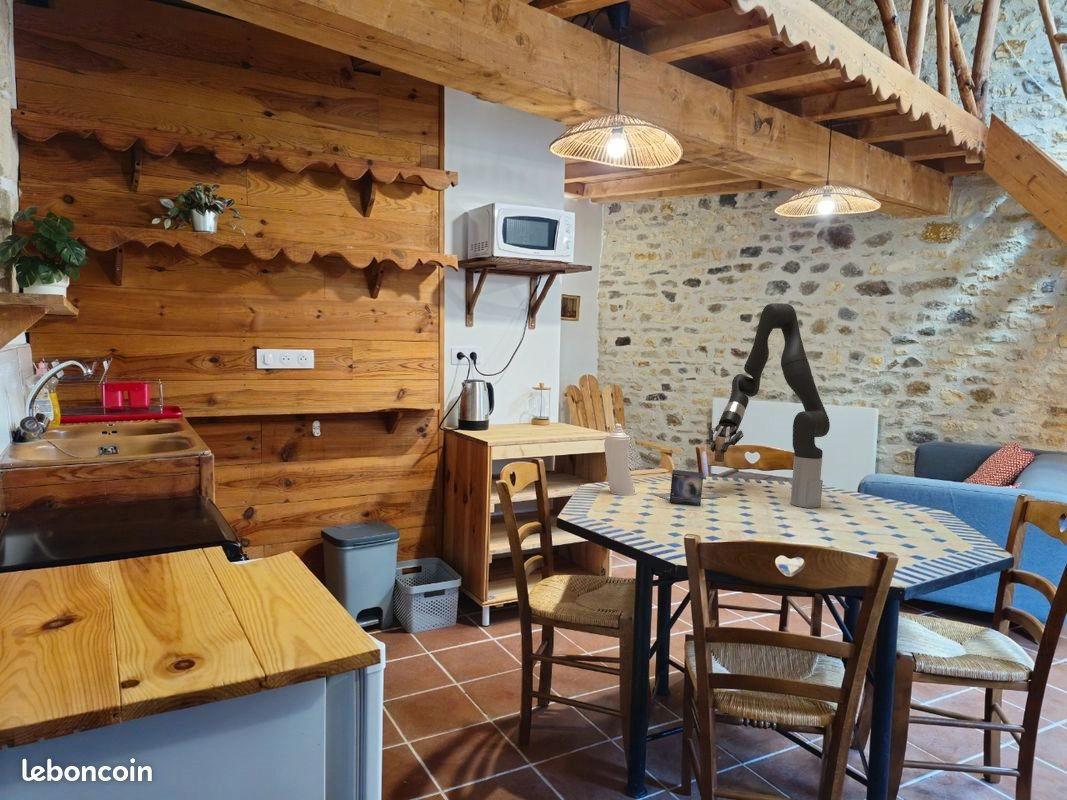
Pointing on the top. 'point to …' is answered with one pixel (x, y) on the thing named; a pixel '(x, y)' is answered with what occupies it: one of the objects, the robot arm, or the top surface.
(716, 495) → the board
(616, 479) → the spray can
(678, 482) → the small box
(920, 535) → the top surface
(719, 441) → the peg
